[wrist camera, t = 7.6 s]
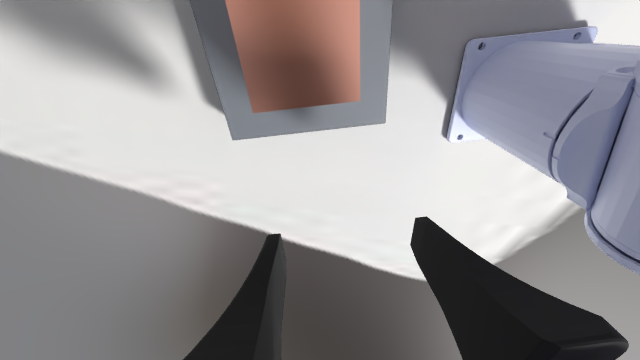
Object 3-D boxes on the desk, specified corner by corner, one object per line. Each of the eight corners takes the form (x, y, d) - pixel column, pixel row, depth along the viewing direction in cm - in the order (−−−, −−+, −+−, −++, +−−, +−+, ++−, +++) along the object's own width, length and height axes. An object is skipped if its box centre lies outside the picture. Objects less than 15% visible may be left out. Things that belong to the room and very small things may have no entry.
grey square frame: (380, -78, 14) (400, -102, 11) (374, 110, 20) (386, 124, 17) (189, -59, 14) (163, -79, 11) (241, 125, 20) (232, 141, 17)
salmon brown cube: (339, -21, 13) (359, -42, 9) (343, 80, 16) (360, 101, 11) (244, -11, 13) (218, -27, 9) (265, 89, 15) (253, 113, 11)
